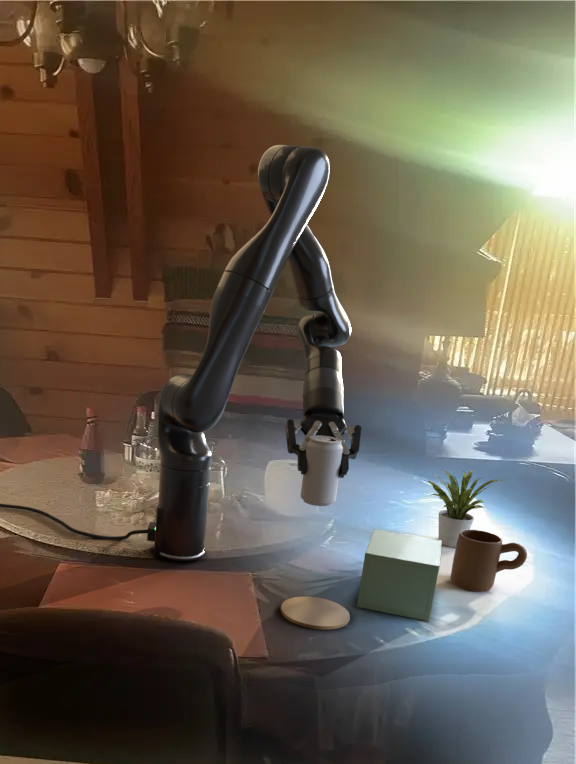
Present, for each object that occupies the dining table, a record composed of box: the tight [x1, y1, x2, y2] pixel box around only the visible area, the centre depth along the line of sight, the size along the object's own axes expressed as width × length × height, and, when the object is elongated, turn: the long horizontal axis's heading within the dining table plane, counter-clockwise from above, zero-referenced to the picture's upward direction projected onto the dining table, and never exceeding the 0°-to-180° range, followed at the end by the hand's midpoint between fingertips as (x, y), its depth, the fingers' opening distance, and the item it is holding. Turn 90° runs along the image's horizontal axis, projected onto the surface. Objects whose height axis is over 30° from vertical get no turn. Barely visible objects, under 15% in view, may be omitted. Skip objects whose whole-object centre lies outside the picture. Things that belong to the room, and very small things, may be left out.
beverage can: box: [300, 435, 343, 507], centre depth 137 cm, size 6×6×12 cm
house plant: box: [427, 468, 502, 548], centre depth 158 cm, size 14×14×16 cm
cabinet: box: [356, 528, 443, 622], centre depth 128 cm, size 14×12×10 cm
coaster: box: [280, 596, 351, 631], centre depth 121 cm, size 11×11×1 cm
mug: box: [450, 529, 528, 592], centre depth 137 cm, size 12×8×9 cm, turn 71°
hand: (323, 473), depth 135 cm, fingers closed on beverage can, 6 cm apart
